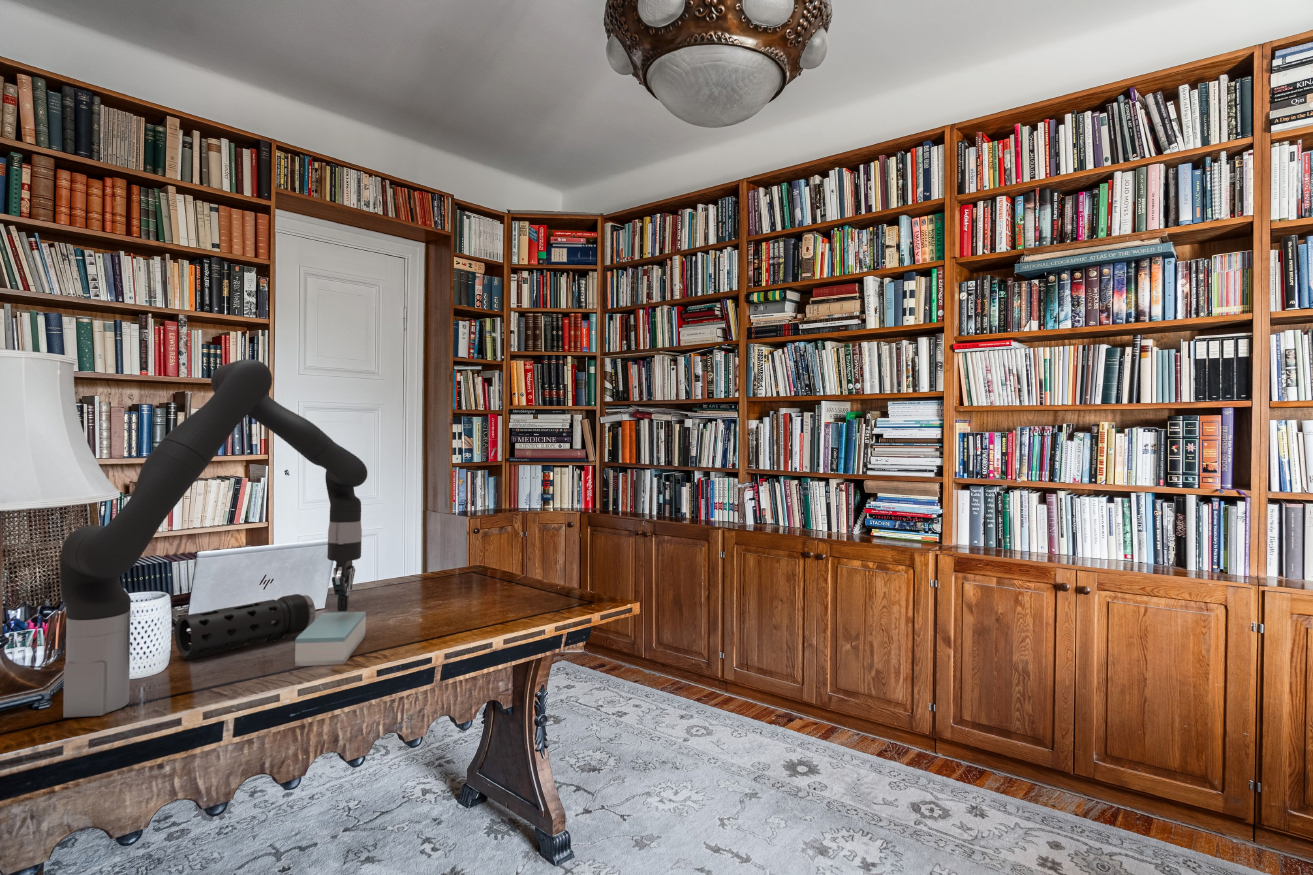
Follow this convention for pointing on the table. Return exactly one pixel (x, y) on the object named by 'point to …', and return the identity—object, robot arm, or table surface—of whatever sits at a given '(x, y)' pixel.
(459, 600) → the table surface
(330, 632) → the trough lid
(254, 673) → the table surface
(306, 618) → the muzzle brake
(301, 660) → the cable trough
